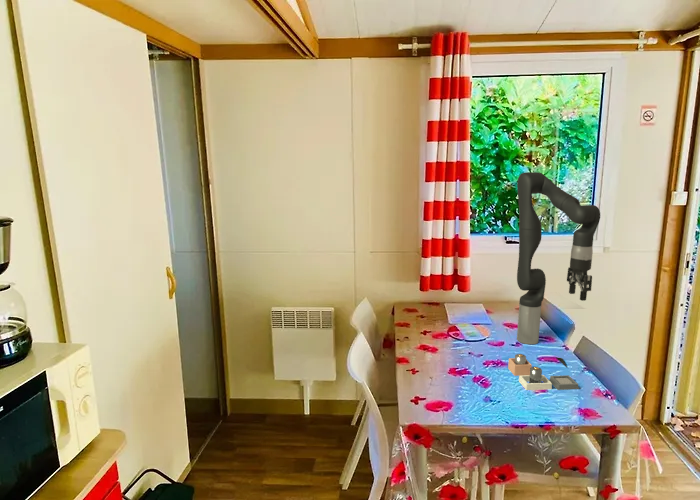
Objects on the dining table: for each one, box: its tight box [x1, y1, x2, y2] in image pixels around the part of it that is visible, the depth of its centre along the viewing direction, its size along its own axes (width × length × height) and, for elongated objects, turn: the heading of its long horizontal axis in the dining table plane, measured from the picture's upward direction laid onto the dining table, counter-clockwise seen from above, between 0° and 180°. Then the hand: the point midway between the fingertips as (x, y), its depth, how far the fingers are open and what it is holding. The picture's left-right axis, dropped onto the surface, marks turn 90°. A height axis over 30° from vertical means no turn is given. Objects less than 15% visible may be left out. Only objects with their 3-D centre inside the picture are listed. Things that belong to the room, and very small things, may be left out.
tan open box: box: [507, 357, 533, 377], centre depth 189 cm, size 6×6×5 cm
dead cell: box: [514, 353, 527, 365], centre depth 188 cm, size 4×4×7 cm
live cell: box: [528, 366, 543, 383], centre depth 178 cm, size 4×4×7 cm
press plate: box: [555, 378, 572, 384], centre depth 178 cm, size 5×5×1 cm
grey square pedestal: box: [548, 374, 580, 391], centre depth 178 cm, size 7×8×3 cm
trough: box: [518, 374, 553, 391], centre depth 178 cm, size 7×9×3 cm
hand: (577, 296), depth 193 cm, fingers open, 8 cm apart
